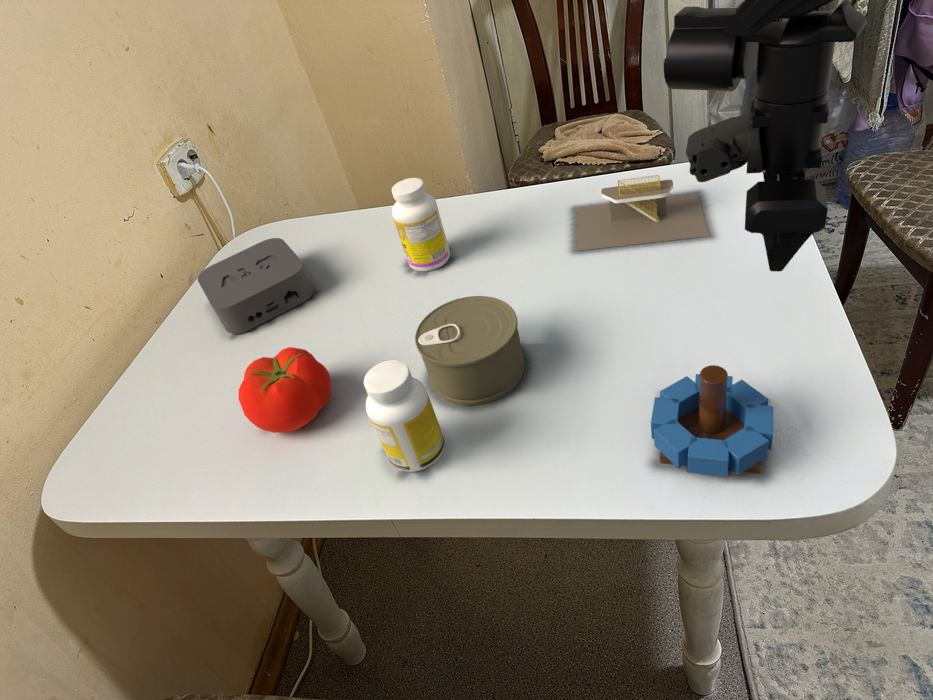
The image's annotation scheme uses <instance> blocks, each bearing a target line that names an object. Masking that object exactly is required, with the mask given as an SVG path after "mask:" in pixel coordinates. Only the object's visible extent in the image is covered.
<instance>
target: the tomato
mask: <svg viewBox="0 0 933 700" xmlns="http://www.w3.org/2000/svg"><path fill="white" fill-rule="evenodd" d="M331 391H332V378H331V375H330V372H329V371H328V369H327V368H326V366H325V365H324V364H323V363H321V362H320V361H318V360H317V359H316V358H315V356H314V355H313V354H312V353H311V352H309V351H308V350H306V349H303V348H298V347H292V346H289V347H285V348H282V349H281V350H280V351H278V353H277V354H276V355H275V356H273V357H269V356H268V357H267V356H262V357H259V358H258V359H254V360H253V361H252V362H251V363H250V364H248V365H247V367H246V368H245V371H244V373H243V380H242V381H241V384H240V386H239V387H238V402H239V404H240V407H241V409H242V412H243V415H244V416H245V418H246V419H247V420H248V421H249V422H250V423H251V424H253V425H254V426H256V428H258V429H260V430H262V431H264V432H265V431H266V432H270V433H289V432H292V431H293V432H294V431H296V430H299V429H301V428H302V427H304V426H306V425H307V424H308V423H310V422H311V421H312V420H313V419H314V418H315V417H316V416H317V415H318V413H319V412H320V410H321V409H323V408H324V407H325V406H326V405H327V404H328V402H329V399H330V397H331Z"/></svg>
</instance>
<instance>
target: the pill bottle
mask: <svg viewBox="0 0 933 700" xmlns="http://www.w3.org/2000/svg"><path fill="white" fill-rule="evenodd" d="M363 385H364V389H365V391H366V393H367V397H366V401H365V411H366V414H367V417H368V419H369V420H370V423H371V425H372V427H373V429H374V431H375V433H376V435H377V437H378V440H379V443H380V444H381V447H382V448H383V450H384V452H385V454H386V457H387V459H388V461H389V462H390V464H391V465H392V466H393V467H394V468H396V469H397V470H400V471H403V472H408V473H410V472H411V473H412V472H413V473H415V472H419V471H422V470H425V469H427V468H429V467H431V466H432V465H434V464H435V463H436V462H437V461H438V460H439V459H440V457H441V456H442V455H443V452H444V450H445V443H446V442H445V437H444V433H443V431H442V428H441V426H440V422H439V420H438V418H437V415H436V412H435V408H434V407H433V403H432V401H431V398H430V396H429V393H428V390H427V388H426V386H425V385H424V383H423V382H422V381H421V380H419V379H418V378H416V377H413V375H412V373H411V371H410V368H409V366H408V365H407V364H406V362H403V361H401V360H398V359H391V360H390V359H389V360H384V361H382V362H379V363H377V364H375V365H374V366H372V367H371V368H370V369H369V370H368V371H367V372H366V374H365V375H364V378H363Z"/></svg>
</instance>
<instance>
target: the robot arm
mask: <svg viewBox="0 0 933 700" xmlns="http://www.w3.org/2000/svg"><path fill="white" fill-rule="evenodd" d="M834 1H835V0H742V1H741V3H740V4H739V5H737V7H712V8H709V7H708V8H705V7H701V6H684V7H682V8H681V9H680V10H679V11H678V12H677V13H676V14H675V15H674V16H673V22H674V23H673V30H672V32H671V35H670V36H669V40H668V44H667V50H666V57H665V58H664V60H663V77H664V81H665V84H666V86H667V88H668V89H670V90H680V91H681V90H683V91H684V90H686V91H711V92H712V91H717V92H734V91H735V90H736V89H737V88H738V86H739V85H740V83H741V81H742V80H749V79H750V78H751V76H752V74H753V72H754V70H755V66H756V75H755V76H756V77H755V90H754V95H753V98H750V100H749V101H750V102H749V103H750V104H749V112H746V113H743V114H741V115H737V116H731V117H729V118H726V119H724V120H721V121H719V122H715V123H713V124H711V125H708V126H706V127H703V128H701V129H698V130H696V131H694V132H692V133H691V134H690V135H689V136H688V138H687V142H686V149H685V155H686V157H687V160H688V162H689V174H690V175H691V176H695V179H696V181H697V183H706V182H709V181H712V180H714V179H717V178H720V177H722V176H725V175H728V174H730V173H731V172H732V171H735V170H738V169H740V168H741V167H744V166H745V165H746V175H747V174H761V173H762V177H763V181H762V180H761V181H757V182H756V183H755V184H753V185H752V186H751V187H749V188H748V190H746V197H745V210H744V231H747V232H749V233H751V234H760V235H761V236H762V238H763V242H764V247H765V252H766V258H767V264H768V269H769V271H770V272H782V271H784V269H785V268H786V267H787V266H788V265H789V263H790V261H791V260H792V259H793V258H794V257H795V255H796V254H797V253H798V251H799V250H800V249H801V248H802V247H803V245H804V244H805V243H806V242H807V241H808V240H809V239H810V237H811V236H813V234H814V233H819V232H821V231H823V230H824V229H826V223H827V217H828V211H829V206H828V199H827V190H826V188H825V187H824V186H823V185H822V184H821V183H819V182H818V181H817V180H816V179H813V178H812V179H807V173H806V172H807V170H808V169H820V168H822V161H823V152H822V140H823V139H822V138H823V132H824V126H825V125H824V124H828V120H829V114H830V113H829V112H830V111H829V103H828V97H829V96H828V95H829V91H830V90H829V89H830V83H831V75H832V67H833V60H834V53H835V46H836V43H853V42H854V41H856V40H857V38H858V37H859V35H860V34H861V32H862V31H863V30H864V29H865V26H866V25H867V23H868V19H867V16H865V15H864V14H862V13H861V12H860V11H858V10H857V9H855V8H854V7H853V5H852V3H851V1H850V0H842V1H841V2H840V3H839V4H838V5H837V6H836V7H834V8H833V9H832V10H828V11H827V10H825V11H824V10H822V11H819V10H818V9H821V8H822V7H824V6H826V5H828V4H830V3H832V2H834ZM816 10H818V11H816ZM777 19H786V20H784V21H776V20H777ZM774 21H776V22H774Z"/></svg>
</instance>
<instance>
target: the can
mask: <svg viewBox="0 0 933 700" xmlns="http://www.w3.org/2000/svg"><path fill="white" fill-rule="evenodd" d="M518 325H519V323H518V317H517V313H516V312H515V309H513V307H512V306H511V305H510V304H509V303H508V302H506V301H504V300H502V299H499V298H496V297H493V296H486V295H471V296H465V297H460V298H456V299H453V300H450V301H447V302H445V303H442V304H441V305H439V306H438V307H436V308H434V309H433V310H431V312H429V313H428V314H427V315H425V317H424V318H423V319H422V320H421V321H420V323H419V324H418V326H417V329H416V330H415V334H414V335H415V336H414V342H415V346H416V349H417V351H418V352H419V354H420V356H421V358H422V361H423V364H424V367H425V369H426V372H427V375H428V377H429V380H430V384H431V387H432V389H433V390H434V392H435V393H436V394H437V395H438V396H439V397H440V398H441V399H442V400H444V401H446V402H448V403H451V404H455V405H459V406H476V405H483V404H487V403H490V402H493V401H496V400H497V399H500V398H502V397H503V396H505V395H506V394H508V393H509V392H510V391H512V390H513V389H514V388H515V387H516V386H517V384H518V383H519V382H520V381H521V379H522V377H523V375H524V372H525V368H526V367H525V364H526V363H525V358H524V354H523V353H524V352H523V348H522V344H521V338H520V333H519V328H518Z"/></svg>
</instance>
